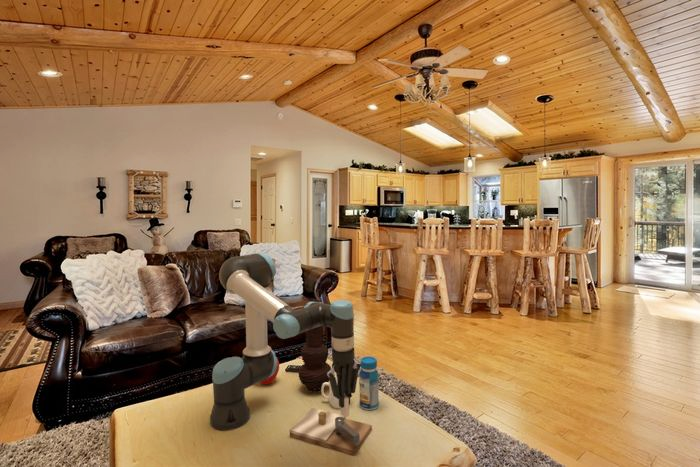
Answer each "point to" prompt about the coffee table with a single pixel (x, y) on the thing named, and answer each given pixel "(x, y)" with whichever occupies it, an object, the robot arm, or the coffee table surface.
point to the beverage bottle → (369, 384)
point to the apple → (271, 376)
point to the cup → (333, 400)
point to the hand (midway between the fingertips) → (344, 414)
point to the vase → (314, 361)
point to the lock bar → (346, 430)
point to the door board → (328, 431)
